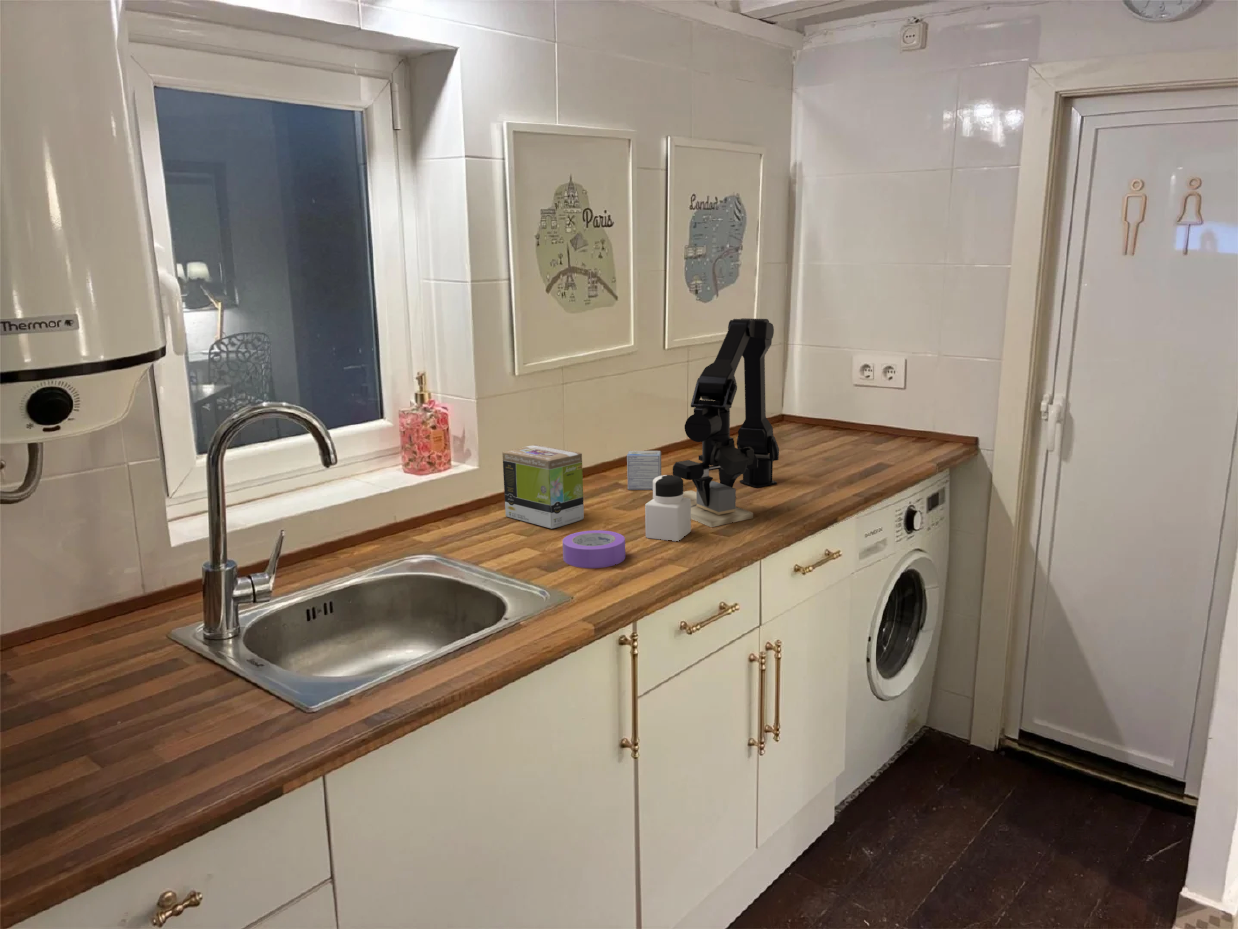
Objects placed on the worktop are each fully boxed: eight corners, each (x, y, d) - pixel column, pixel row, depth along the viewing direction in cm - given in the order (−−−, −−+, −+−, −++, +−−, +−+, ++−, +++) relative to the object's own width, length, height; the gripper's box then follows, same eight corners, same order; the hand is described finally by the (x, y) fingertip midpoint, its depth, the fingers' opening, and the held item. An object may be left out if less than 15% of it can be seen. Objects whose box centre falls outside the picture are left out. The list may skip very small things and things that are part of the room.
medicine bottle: (691, 531, 190) (691, 474, 188) (678, 542, 184) (678, 483, 181) (658, 528, 193) (658, 471, 191) (645, 538, 187) (644, 479, 184)
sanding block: (713, 503, 205) (713, 480, 204) (735, 511, 199) (735, 488, 197) (696, 506, 203) (696, 483, 202) (718, 514, 196) (718, 491, 195)
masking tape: (554, 553, 180) (553, 534, 179) (611, 545, 184) (610, 526, 183) (576, 573, 169) (575, 553, 168) (635, 563, 174) (635, 543, 173)
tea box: (585, 519, 200) (583, 451, 197) (551, 530, 193) (548, 460, 190) (538, 507, 210) (535, 442, 207) (503, 517, 203) (500, 450, 200)
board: (691, 495, 217) (691, 490, 217) (753, 518, 199) (753, 512, 198) (651, 503, 211) (651, 498, 211) (711, 527, 193) (711, 521, 193)
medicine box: (661, 485, 226) (661, 450, 224) (660, 490, 222) (660, 454, 220) (629, 485, 227) (628, 450, 225) (627, 490, 223) (626, 454, 220)
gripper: (703, 445, 186) (703, 520, 189) (775, 433, 195) (774, 505, 199) (670, 435, 195) (671, 508, 199) (741, 424, 204) (740, 494, 208)
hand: (715, 504), depth 201 cm, fingers closed on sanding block, 4 cm apart
